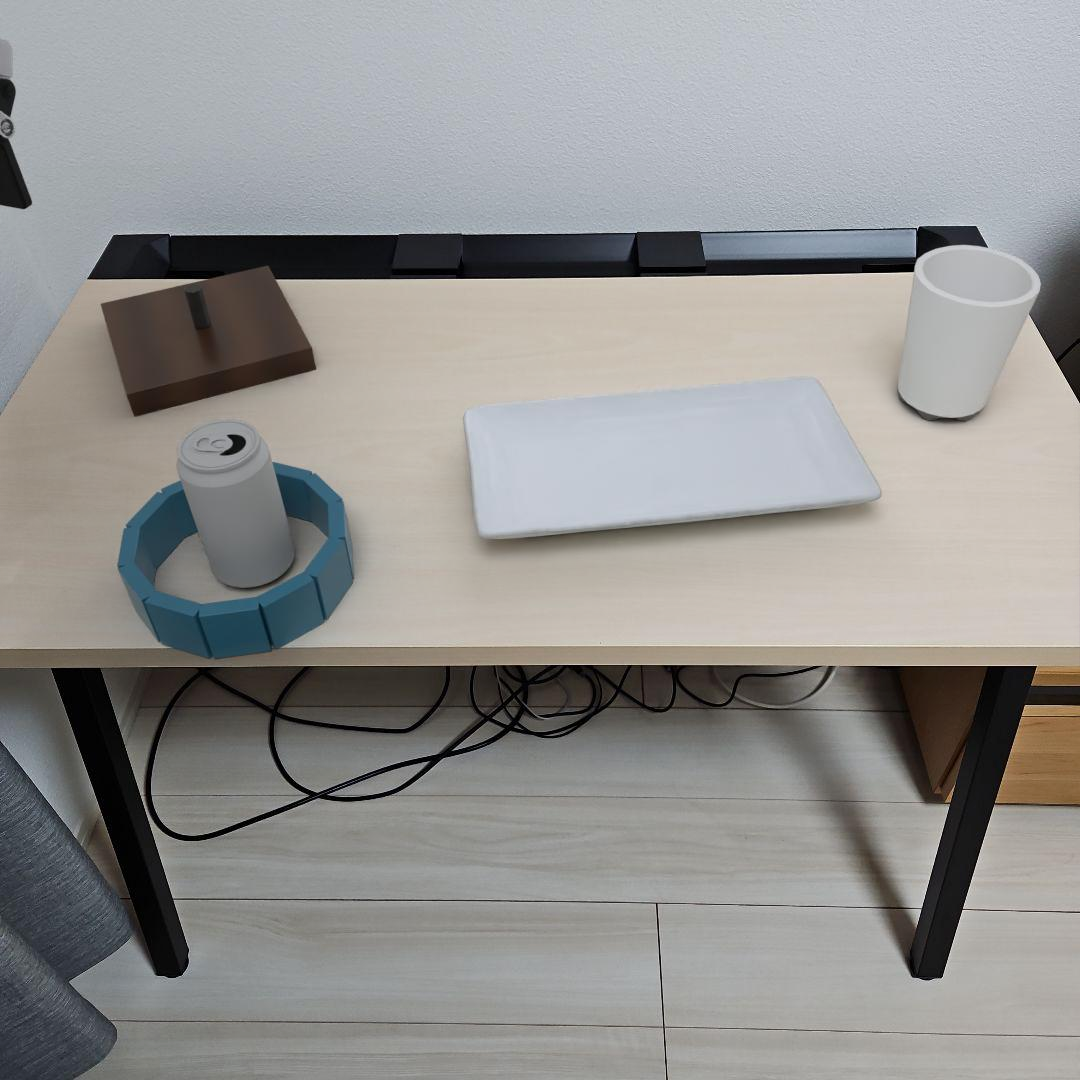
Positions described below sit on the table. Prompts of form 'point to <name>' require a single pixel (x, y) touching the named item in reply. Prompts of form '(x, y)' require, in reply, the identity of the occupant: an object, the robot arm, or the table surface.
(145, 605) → the ring
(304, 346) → the platform
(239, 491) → the beverage can
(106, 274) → the table surface
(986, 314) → the cup
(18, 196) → the robot arm
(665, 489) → the tray
